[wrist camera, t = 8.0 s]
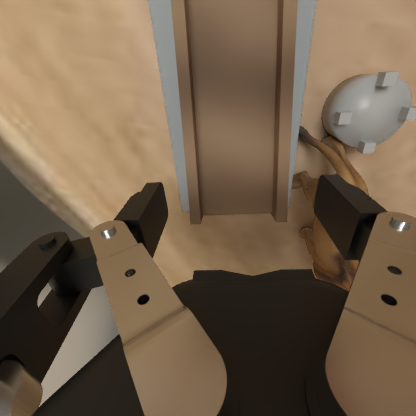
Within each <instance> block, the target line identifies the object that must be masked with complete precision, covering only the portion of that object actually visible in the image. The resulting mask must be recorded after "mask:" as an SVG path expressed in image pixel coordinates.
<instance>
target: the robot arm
mask: <svg viewBox="0 0 416 416" xmlns="http://www.w3.org/2000/svg"><path fill="white" fill-rule="evenodd" d="M314 212H315V215H316V217H317V218H318V220H319V221H320V223H321V224H322V226H323V227H324V229H325V230H326V232H327V233H328V235H329V237H330V238H331V240H332V241H333V243H334V244H335V246H336V247H337V249H338V250H339V252H340V253H341V255H342V257H343V258H344V260H358V261H359V264H358V267H357V269H356V272H355V275H354V277H353V280H352V283H351V285H350V288H349V291H347V290H345V289H343V288H341V287H339V286H337V285H335V284H332V283H329V282H326V281H323V280H319V279H316V278H315V276H314V274H313V272H312V269H299V270H278V271H273V272H269V273H264V274H260V275H255V276H249V275H244V274H238V273H233V272H228V271H223V270H202V271H194V274H193V280H188V281H185V282H183V283H180V284H178V285H176V286H174V287H172V288H171V286H170V285H169V283H168V282H167V280H166V279H165V277H164V275H163V274H162V272H161V271H160V269H159V268H158V266H157V265H156V263H155V262H154V260H153V259H152V258H153V256H154V253H155V250H156V248H157V245H158V242H159V240H160V237H161V235H162V232H163V229H164V227H165V224H166V221H167V218H168V207H167V202H166V197H165V192H164V187H163V184H162V183H161V182H156V183H147V184H146V185H145V186H144V188H143V189H142V191H141V192H137V193H136V194H134V195H133V196H132V197H130V199H129V200H128V201H127V204H125V205H124V207H123V208H122V209H121V211H120V212H119V213H118V215H117V216H116V218H115V219H114V220H113V221H108V222H104V223H102V224H100V225H98V226H96V227H95V228H94V229H93V230H92V231H91V232H90V235H89V237H87V238H83V239H78V240H74V241H71V240H70V238H69V236H68V235H67V234H66V233H65V232H54V233H50V234H47V235H44V236H42V237H40V238H38V239H36V240H35V241H33V242H32V243H31V244H30V245H29V246H28V247H27V248H26V249H25V250H24V251H23V252H22V253H21V254H20V255H18V256H17V257H16V258H15V259H14V260H13V261H12V262H11V263H10V264H9V265H8V266H7V267H6V268H5V269H4V270H3V271H2V272H1V273H0V416H416V218H414V217H412V216H410V215H407V214H403V213H398V212H388V211H386V210H385V209H384V208H383V207H382V206H380V205H379V204H378V203H377V202H376V201H375V200H372V198H371V197H370V196H369V195H366V193H365V192H364V191H363V190H362V189H360V188H358V187H356V186H354V185H352V184H349V183H348V182H347V181H345V180H344V179H343V178H342V177H341V176H340V175H338V174H335V175H321V176H320V178H319V180H318V185H317V190H316V195H315V200H314ZM47 283H49V285H50V286H51V288H52V290H51V291H50V293H49V294H48V295H47V297H46V298H45V300H44V301H43V302H42V304H41V305H40V306H39V308H38V305H37V300H38V296H39V294H40V292H41V290H42V289H43V288H44V287H45V286H46V284H47ZM103 285H104V287H105V290H106V293H107V297H108V299H109V303H110V305H111V309H112V312H113V315H114V318H115V321H116V324H117V327H118V330H119V333H120V334H119V335H117V336H116V337H115V338H114V339H113V340H112V341H111V342H110V343H109V344H108V345H107V346H105V347H104V348H103V349H102V350H101V351H100V352H99V353H98V354H97V355H96V356H94V357H93V358H92V359H91V360H90V361H89V362H88V363H87V364H86V365H85V366H84V367H82V368H81V369H80V370H79V371H78V372H77V373H76V374H75V375H74V376H72V377H71V378H70V379H69V380H68V381H67V382H66V383H65V384H64V385H63V386H61V388H59V389H58V390H57V391H56V392H55V393H54V394H53V395H52V396H51V397H49V399H47V400H46V401H45V402H44V403H43V404H42V405H41V406H40V407H39V405H40V403H41V399H42V394H43V389H42V385H41V383H42V381H43V379H44V377H45V375H46V373H47V371H48V370H49V368H50V366H51V364H52V362H53V360H54V358H55V356H56V355H57V353H58V351H59V349H60V347H61V345H62V343H63V342H64V340H65V337H66V336H67V334H68V332H69V330H70V328H71V327H72V325H73V323H74V321H75V319H76V317H77V315H78V313H79V312H80V310H81V308H82V306H83V304H84V302H85V300H86V299H87V297H88V295H89V293H90V291H91V289H92V288H95V287H99V286H103Z"/></svg>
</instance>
